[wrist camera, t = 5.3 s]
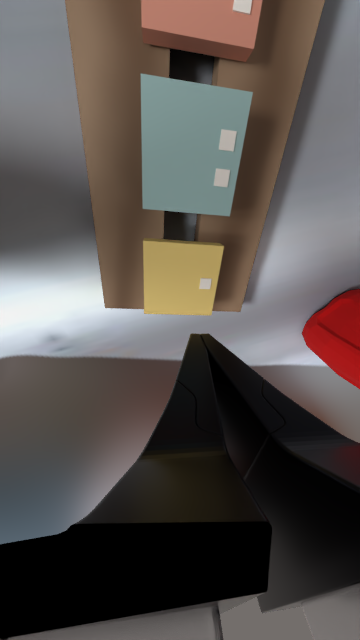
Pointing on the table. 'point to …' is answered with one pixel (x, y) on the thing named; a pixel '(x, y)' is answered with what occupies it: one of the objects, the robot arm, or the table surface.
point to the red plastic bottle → (337, 335)
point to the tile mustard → (180, 276)
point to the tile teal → (191, 144)
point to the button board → (126, 137)
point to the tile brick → (202, 26)
